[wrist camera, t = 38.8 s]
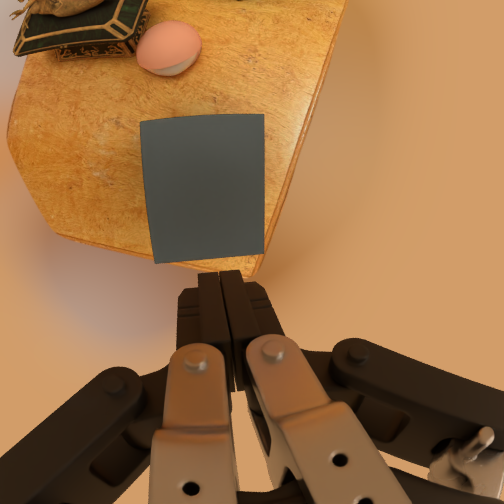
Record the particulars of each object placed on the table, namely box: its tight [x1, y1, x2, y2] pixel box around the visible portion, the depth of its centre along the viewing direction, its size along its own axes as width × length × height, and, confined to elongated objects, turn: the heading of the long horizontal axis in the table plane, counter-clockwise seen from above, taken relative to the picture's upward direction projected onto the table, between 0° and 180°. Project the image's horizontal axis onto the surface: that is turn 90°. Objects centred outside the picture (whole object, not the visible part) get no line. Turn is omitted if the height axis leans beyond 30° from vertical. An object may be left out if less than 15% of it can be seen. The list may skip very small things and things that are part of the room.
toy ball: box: [136, 21, 202, 76], centre depth 24 cm, size 8×8×8 cm
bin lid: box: [140, 114, 265, 264], centre depth 25 cm, size 14×12×1 cm
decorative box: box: [10, 0, 150, 62], centre depth 15 cm, size 20×10×20 cm, turn 78°
